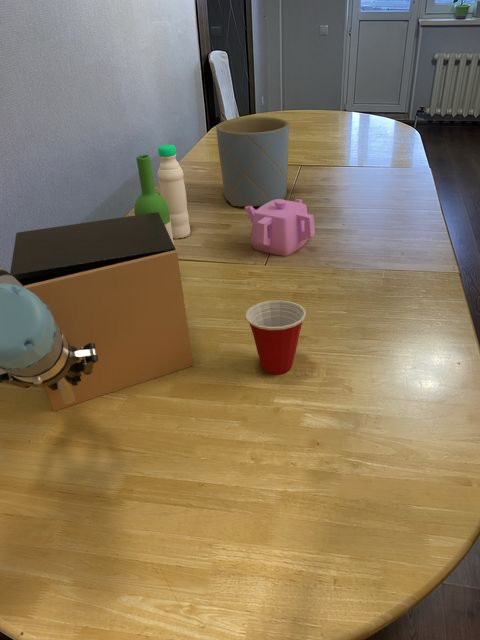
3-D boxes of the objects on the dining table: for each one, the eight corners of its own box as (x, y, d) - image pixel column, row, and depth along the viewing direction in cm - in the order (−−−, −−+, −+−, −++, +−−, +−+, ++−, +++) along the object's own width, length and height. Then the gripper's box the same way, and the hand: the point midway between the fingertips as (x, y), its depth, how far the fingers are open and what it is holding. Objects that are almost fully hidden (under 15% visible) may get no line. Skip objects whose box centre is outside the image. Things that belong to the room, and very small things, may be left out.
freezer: (191, 362, 100) (175, 248, 86) (51, 393, 94) (9, 275, 80) (174, 317, 114) (158, 211, 100) (51, 340, 108) (16, 232, 94)
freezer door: (207, 386, 94) (192, 268, 80) (60, 436, 85) (15, 313, 71) (191, 363, 100) (175, 249, 86) (52, 408, 90) (9, 288, 77)
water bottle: (195, 234, 151) (185, 145, 137) (176, 241, 147) (164, 150, 133) (180, 228, 155) (168, 141, 141) (161, 235, 151) (147, 146, 137)
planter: (291, 209, 165) (291, 131, 151) (220, 212, 165) (213, 134, 152) (287, 186, 184) (287, 115, 170) (223, 188, 184) (218, 118, 170)
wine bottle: (173, 271, 132) (155, 149, 115) (183, 283, 127) (166, 157, 109) (143, 278, 130) (120, 154, 112) (152, 291, 124) (129, 163, 107)
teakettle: (258, 261, 136) (256, 215, 128) (244, 236, 149) (242, 194, 142) (320, 252, 139) (321, 207, 131) (300, 228, 152) (301, 187, 145)
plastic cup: (296, 345, 104) (296, 292, 97) (312, 377, 95) (313, 322, 88) (243, 353, 102) (240, 300, 95) (254, 387, 93) (251, 332, 86)
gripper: (-30, 397, 59) (17, 413, 81) (108, 368, 63) (117, 390, 86) (-41, 335, 60) (8, 367, 83) (96, 309, 64) (107, 347, 87)
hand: (63, 379), depth 84 cm, fingers closed on freezer door, 2 cm apart
